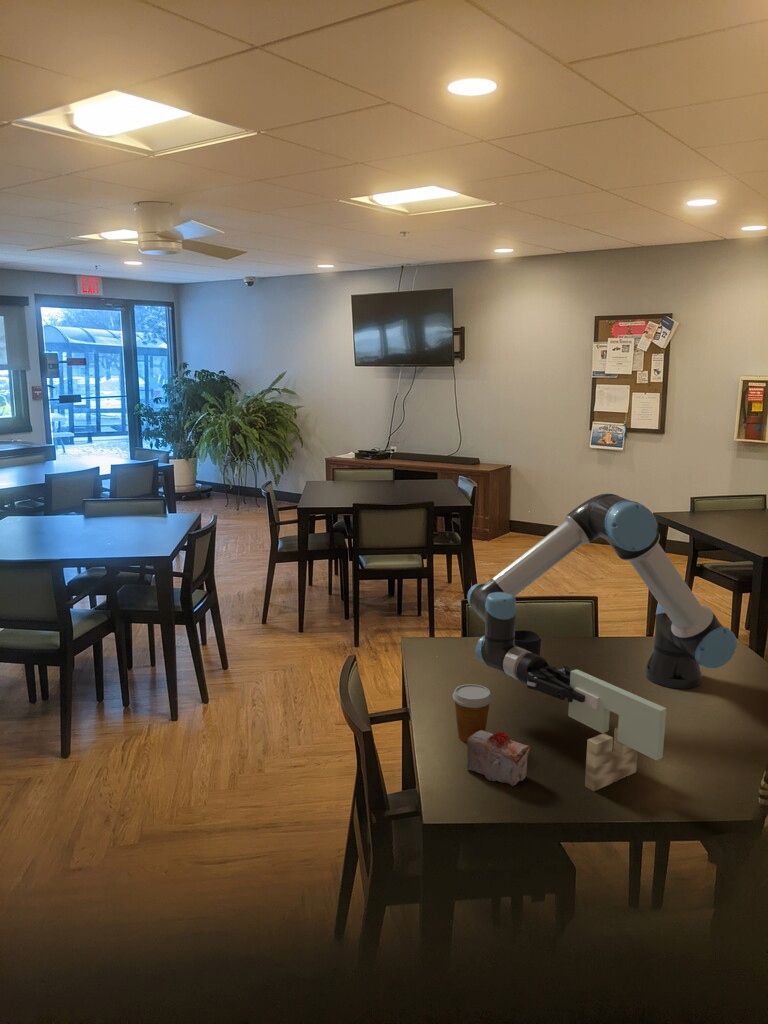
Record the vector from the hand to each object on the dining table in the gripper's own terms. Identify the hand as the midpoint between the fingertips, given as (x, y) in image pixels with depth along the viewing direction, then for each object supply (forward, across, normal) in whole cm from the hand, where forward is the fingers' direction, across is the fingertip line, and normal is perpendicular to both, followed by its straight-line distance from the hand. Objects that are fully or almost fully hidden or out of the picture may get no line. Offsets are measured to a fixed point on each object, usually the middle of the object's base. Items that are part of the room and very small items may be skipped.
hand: (602, 702), depth 171 cm
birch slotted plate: (+4, 0, -17) cm, 17 cm away
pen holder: (-52, -28, -17) cm, 62 cm away
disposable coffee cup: (-28, +13, -17) cm, 36 cm away
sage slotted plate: (+3, 0, -6) cm, 7 cm away
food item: (-12, +19, -17) cm, 28 cm away
